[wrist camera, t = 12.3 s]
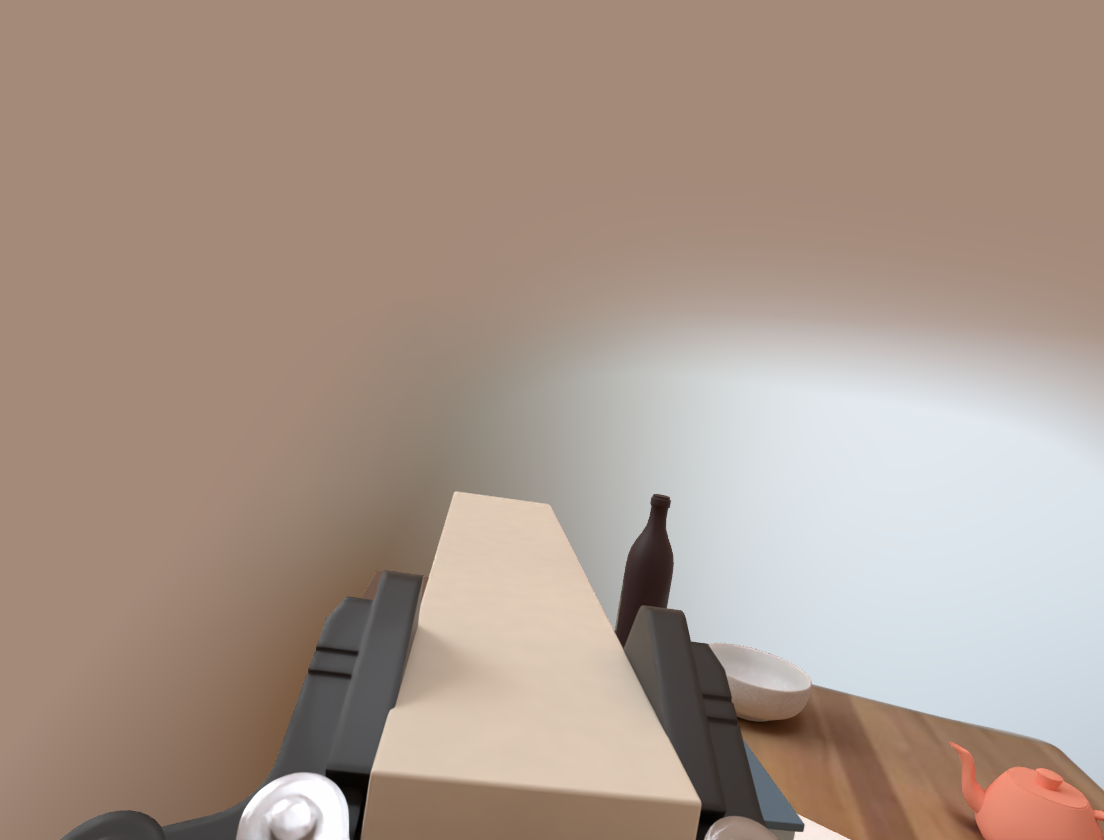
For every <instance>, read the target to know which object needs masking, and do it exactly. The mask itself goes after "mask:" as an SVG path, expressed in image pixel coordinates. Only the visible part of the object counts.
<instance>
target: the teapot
mask: <svg viewBox="0 0 1104 840" xmlns="http://www.w3.org/2000/svg"><path fill="white" fill-rule="evenodd" d="M949 743H950V744H951V746H952V747H953V748H954V749H955V750H956V751H957V752H958V754H959V756H960V759H961V762H962V791H963V794H964V797H965V800H966V801H967V803H968V804H969V806H970V807H971V808H972V809H973V810H974V811H975V818H976V822H977V825H978V827H979V829H980V831H981V833H982V835H983V837H984V839H985V840H1103V837H1102V834H1101V831H1100V828H1099V825H1098V823H1097V820H1102V821H1104V811H1099V810H1093V809H1092V808H1091V806H1090V804H1089V802H1088V800H1087V799H1086V798H1085V796H1084V795H1083V794H1082V793H1081V792H1080V791H1078V790H1077V789H1076V788H1074V787H1073V786H1071V785H1069V784H1067V783H1065V782H1063V778H1062V777H1061V776H1060V775H1058V774H1057V773H1055V772H1053V771H1050V770H1048V769H1044V768H1037V769H1036V771H1035V770H1032V769H1028V768H1023V767H1014V768H1011V769H1009V770H1007V771H1006V772H1004V773H1003V774H1002V775H1001V776H999V777H998V778H997V779H996V780H994V781H993V782H992V783H991V784H990V785H989V786H988V787H987V789H986V790H985V791H984V790H983V789H982V788H981V787H980V786H979V785H978V783H977V782H976V779H975V764H974V760H973V758H972V756H971V754H970V753H969V752H968V751H967V750H965V749H964V748H962V747H961V746H959V745H957V744H955V743H952V742H949ZM1096 819H1097V820H1096Z"/></svg>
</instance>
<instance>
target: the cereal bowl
mask: <svg viewBox="0 0 1104 840" xmlns="http://www.w3.org/2000/svg"><path fill="white" fill-rule="evenodd" d="M708 645H709V646H710V648H711V649H712V651H713V652H714V654H715V655H716V657H717V658H718V660H719V661H720V663H721V664H722V666H723V667H724V669H725V672H726V676H727V679H728V683H729V687H730V691H731V695H732V703H734V707H735V711H736V715H737V717H740V718H743V719H746V720H750V721H755V722H766V721H769V720H783V719H788V718H791V717H793V716H795V715H797V714H798V713H800V712H801V711H802V710H803V708H804V707H805V706H806V704H807V702H808V699H809V696H810V692H811V688H812V682H811V679H810V677H809V676H808V675H807V674H806V673H805V672H804V671H803V670H802V669H800V668H799V667H797V666H796V665H794V664H792V663H790V662H788V661H786V660H784V659H782V658H780V657H778V656H775V655H772V654H769V653H767V652H763V651H760V650H757V649H753V648H749V647H745V646H740V645H734V644H726V643H711V644H708Z"/></svg>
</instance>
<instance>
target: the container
mask: <svg viewBox="0 0 1104 840" xmlns="http://www.w3.org/2000/svg"><path fill="white" fill-rule="evenodd" d="M743 742H744V746H745V750H746V754H747V758H748V762H749V766H750V770H751V774H752V778H753V781H754V785H755V789H756V793H757V797H758V801H759V805H760V809H761V812H762V815H763V819H764V821H765V823H766V825H767V828H768V829H769V830H770V831H771V832H772V833H773V834H774V835H775V836H776V837H777V838H778V839H779V840H794V835H795V832H803V831H804V826H805V825H804V823H803V821H802V820H801V819H800V817H799V816H798V814H797V813H796V812H795V810H794V809H793V808H792V806H791V805H790V803H789V802H788V801H787V799H786V798H785V796H784V795H783V794H782V792H781V791H780V790H779V788H778V787H777V785H776V784H775V783H774V781H773V780H772V778H771V777H770V776H769V774H768V773H767V772H766V770H765V769H764V767H763V766H762V765H761V763H760V762H759V761H758V759H757V758H756V756H755V755H754V754H753V752H752V751H751V749H750V748H749V747H748V745H747V744H746V743H745V741H744V740H743Z"/></svg>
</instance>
